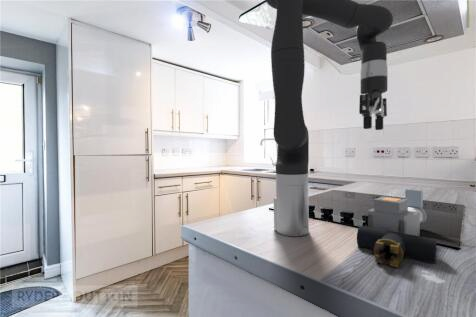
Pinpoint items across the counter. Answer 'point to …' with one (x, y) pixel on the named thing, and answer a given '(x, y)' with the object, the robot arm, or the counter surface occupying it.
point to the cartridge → (415, 202)
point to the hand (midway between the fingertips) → (373, 129)
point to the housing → (394, 217)
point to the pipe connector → (396, 245)
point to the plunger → (390, 199)
